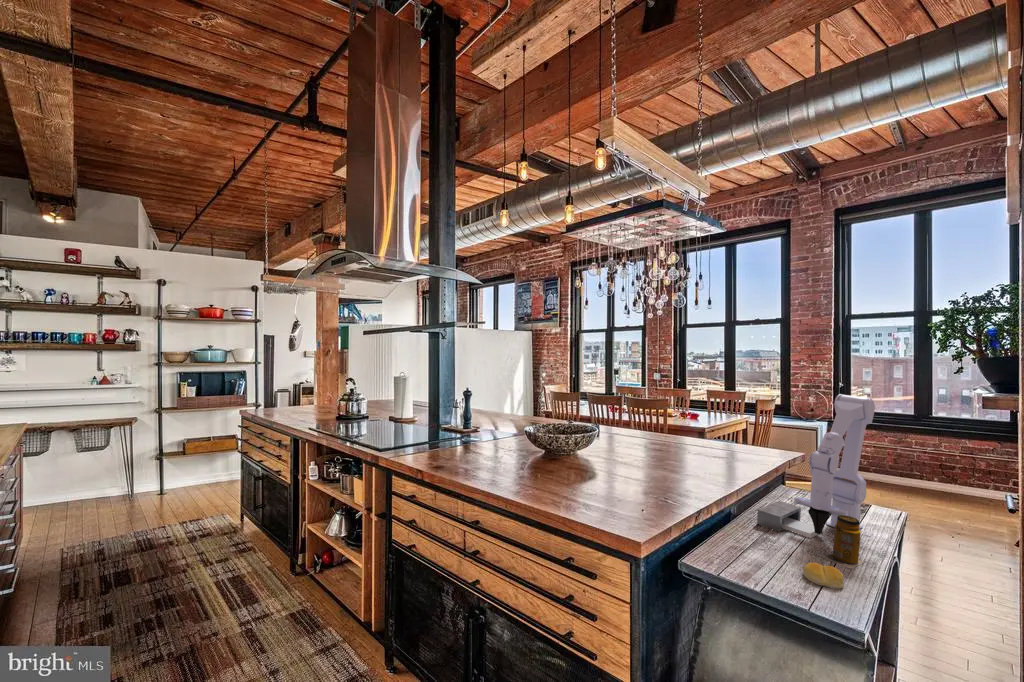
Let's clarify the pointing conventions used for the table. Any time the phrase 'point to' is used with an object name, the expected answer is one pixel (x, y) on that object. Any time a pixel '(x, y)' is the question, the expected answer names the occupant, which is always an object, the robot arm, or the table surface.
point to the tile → (798, 527)
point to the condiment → (846, 542)
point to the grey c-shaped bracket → (777, 514)
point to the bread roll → (824, 575)
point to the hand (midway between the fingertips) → (818, 533)
